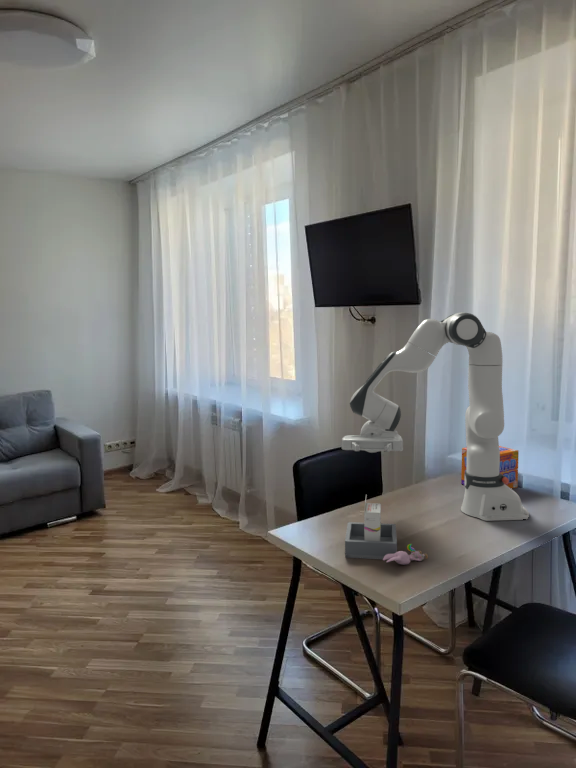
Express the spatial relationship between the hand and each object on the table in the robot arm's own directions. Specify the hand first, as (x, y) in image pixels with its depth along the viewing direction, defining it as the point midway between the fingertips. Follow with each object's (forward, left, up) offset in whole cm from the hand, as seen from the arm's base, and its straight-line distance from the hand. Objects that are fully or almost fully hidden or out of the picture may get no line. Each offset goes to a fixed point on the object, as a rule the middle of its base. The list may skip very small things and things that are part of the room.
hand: (371, 448), depth 176 cm
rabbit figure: (-10, +22, -28) cm, 37 cm away
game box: (-46, -53, -28) cm, 76 cm away
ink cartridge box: (0, +12, -27) cm, 30 cm away
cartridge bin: (0, +12, -28) cm, 31 cm away
